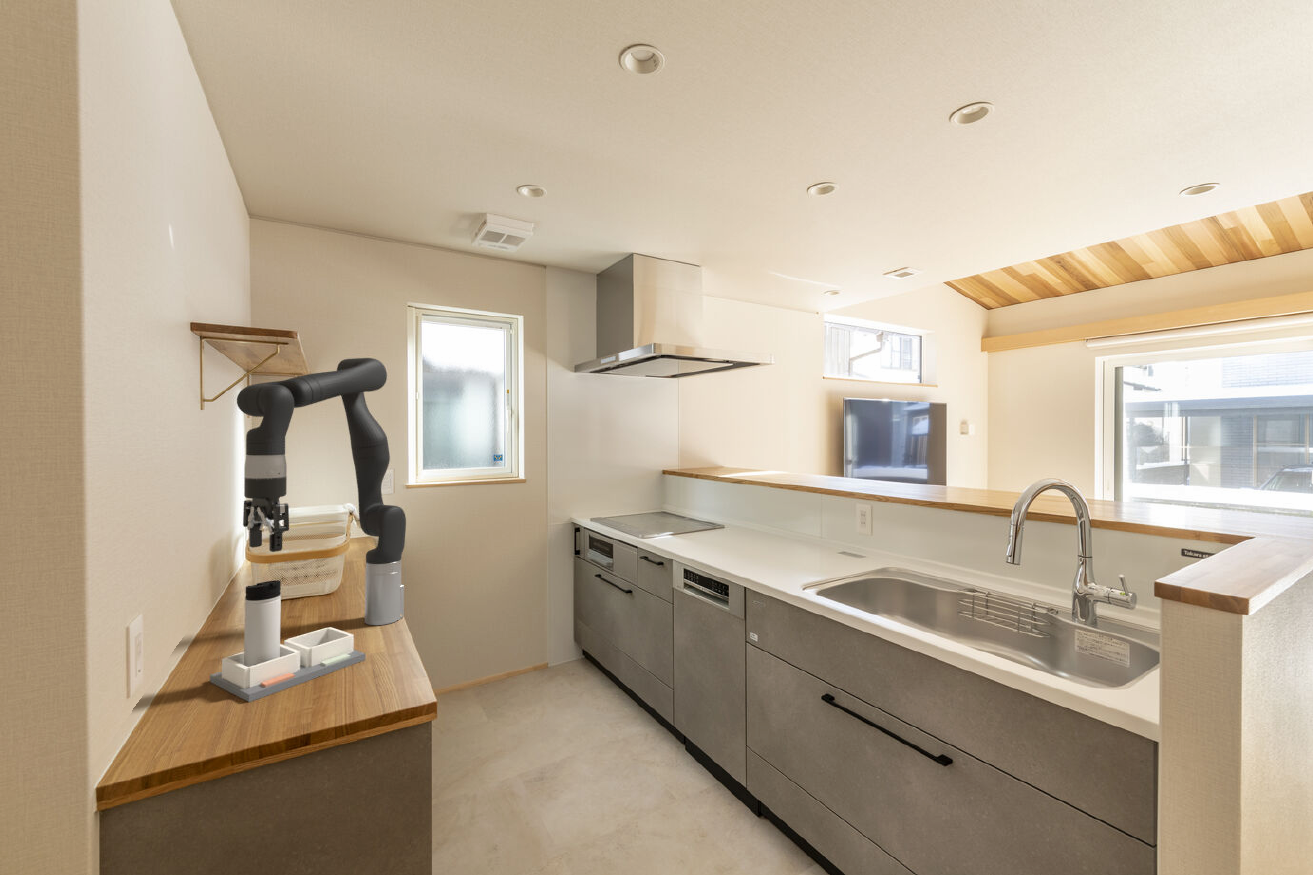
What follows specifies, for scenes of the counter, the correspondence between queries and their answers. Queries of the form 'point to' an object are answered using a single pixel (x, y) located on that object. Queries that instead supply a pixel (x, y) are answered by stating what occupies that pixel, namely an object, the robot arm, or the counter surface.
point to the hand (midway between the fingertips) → (265, 548)
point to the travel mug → (262, 622)
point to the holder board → (289, 664)
